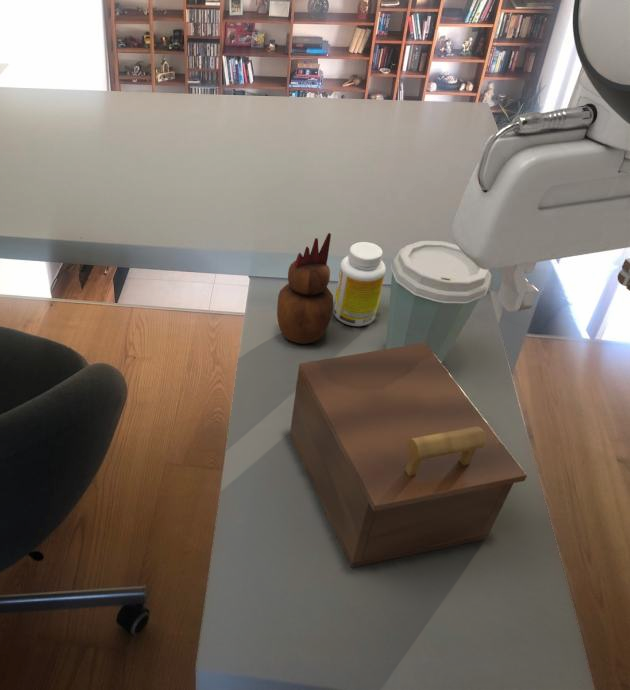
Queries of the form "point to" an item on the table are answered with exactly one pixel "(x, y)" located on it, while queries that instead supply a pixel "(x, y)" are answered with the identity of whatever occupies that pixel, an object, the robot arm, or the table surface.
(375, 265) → the supplement bottle
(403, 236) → the table surface
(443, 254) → the disposable coffee cup
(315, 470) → the chest
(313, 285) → the wooden figurine
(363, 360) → the lid
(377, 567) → the table surface
